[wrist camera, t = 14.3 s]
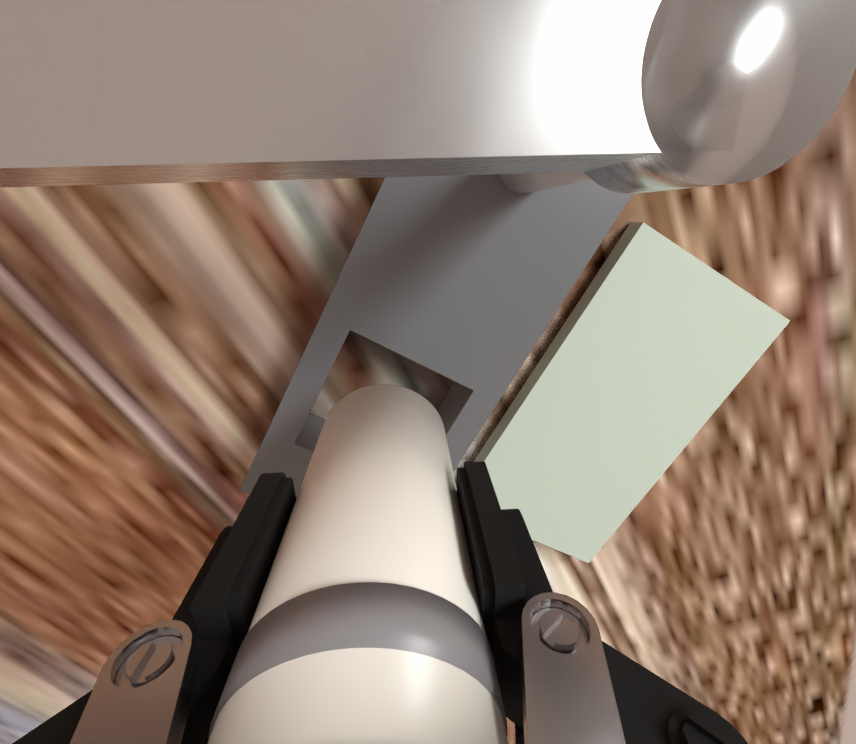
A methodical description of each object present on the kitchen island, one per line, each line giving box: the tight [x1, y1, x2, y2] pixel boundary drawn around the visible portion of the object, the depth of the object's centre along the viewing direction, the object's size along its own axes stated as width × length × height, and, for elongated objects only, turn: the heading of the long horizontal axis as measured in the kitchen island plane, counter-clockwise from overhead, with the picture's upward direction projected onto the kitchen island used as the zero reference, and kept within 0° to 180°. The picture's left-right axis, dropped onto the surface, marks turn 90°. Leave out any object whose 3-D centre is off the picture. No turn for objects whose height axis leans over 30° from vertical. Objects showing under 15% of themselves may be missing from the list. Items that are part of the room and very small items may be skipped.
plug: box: [207, 384, 508, 744], centre depth 10 cm, size 4×4×10 cm
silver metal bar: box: [0, 0, 856, 194], centre depth 6 cm, size 19×3×2 cm, turn 92°
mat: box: [456, 222, 790, 563], centre depth 21 cm, size 16×9×1 cm, turn 152°
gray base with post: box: [240, 172, 632, 499], centre depth 14 cm, size 20×8×10 cm, turn 152°
